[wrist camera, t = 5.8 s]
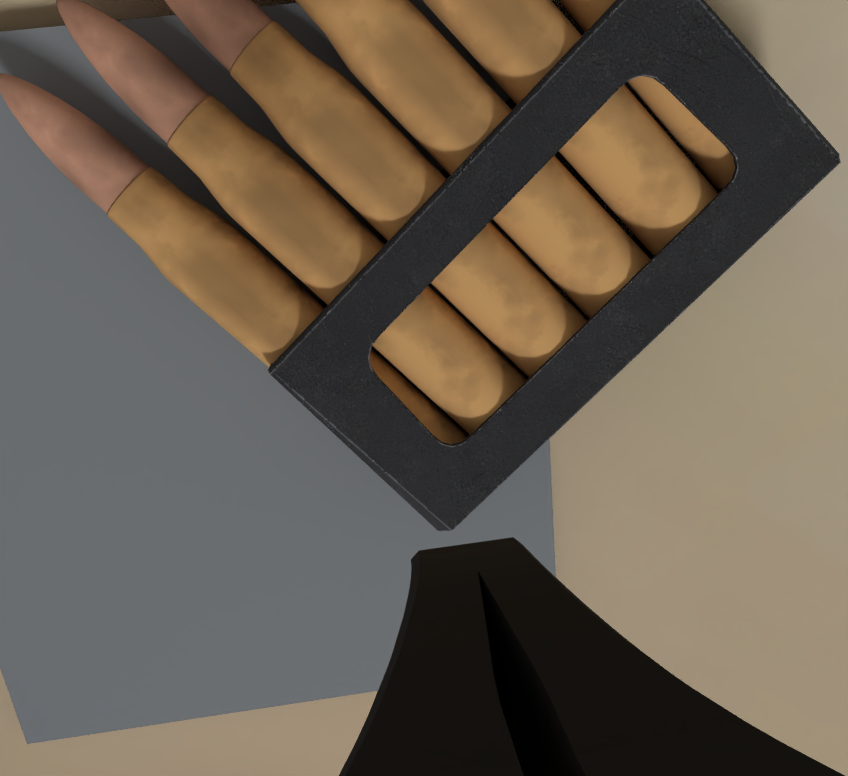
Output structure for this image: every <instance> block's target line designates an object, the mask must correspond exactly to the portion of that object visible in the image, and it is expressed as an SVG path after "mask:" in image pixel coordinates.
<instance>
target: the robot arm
mask: <svg viewBox="0 0 848 776" xmlns="http://www.w3.org/2000/svg"><path fill="white" fill-rule="evenodd" d="M339 776H844V775H842V774H841V773H839V772H837V771H835V770H833V769H831V768H829V767H827V766H825V765H823V764H822V763H820V762H818V761H816V760H814V759H812V758H810V757H808V756H806V755H805V754H803V753H801V752H799V751H797V750H795V749H793V748H791V747H789V746H787V745H786V744H784V743H782V742H780V741H778V740H776V739H775V738H773V737H771V736H769V735H768V734H766V733H764V732H762V731H761V730H759V729H757V728H755V727H754V726H752V725H750V724H749V723H747V722H745V721H744V720H742V719H740V718H739V717H737V716H736V715H734V714H732V713H731V712H729V711H728V710H726V709H724V708H723V707H721V706H720V705H718V704H717V703H715V702H713V701H712V700H710V699H709V698H707V697H705V696H704V695H702V694H701V693H699V692H697V691H696V690H694V689H693V688H691V687H690V686H688V685H687V684H685V683H684V682H683V681H681V680H680V679H678V678H677V677H675V676H674V675H672V674H671V673H670V672H668V671H667V670H666V669H664V668H663V667H662V666H660V665H659V664H658V663H656V662H655V661H654V660H652V659H651V658H650V657H648V656H647V655H646V654H644V653H643V652H642V651H640V650H639V649H638V648H637V647H635V646H634V645H633V644H632V643H630V642H629V641H628V640H627V639H625V638H624V637H623V636H622V635H620V634H619V633H618V632H617V631H616V630H614V629H613V628H612V627H611V626H610V625H609V624H607V623H606V622H605V621H604V620H603V619H601V618H600V617H599V616H598V615H597V614H596V613H594V612H593V611H592V610H591V609H590V608H589V607H587V606H586V605H585V604H584V603H583V602H582V601H581V600H580V599H578V598H577V597H576V596H575V595H574V594H573V593H572V592H571V591H570V590H569V589H567V588H566V587H565V586H564V585H563V584H562V583H561V582H560V581H559V580H558V579H557V578H556V577H555V576H554V575H553V574H552V573H551V572H550V571H549V570H548V569H547V568H545V567H544V566H543V565H542V564H541V563H540V562H539V561H538V560H537V559H536V558H535V557H534V556H533V555H532V554H531V553H530V552H529V551H528V550H527V548H526V547H525V546H524V545H523V544H521V543H520V542H519V541H518V540H516V539H515V538H514V537H511V538H504V539H497V540H490V541H482V542H475V543H468V544H461V545H454V546H447V547H440V548H433V549H426V550H419V551H418V552H417V553H416V554H415V555H414V556H413V558H412V559H411V581H410V588H409V593H408V598H407V602H406V607H405V611H404V616H403V619H402V622H401V626H400V629H399V632H398V636H397V639H396V642H395V646H394V649H393V652H392V655H391V658H390V661H389V664H388V667H387V669H386V672H385V674H384V677H383V680H382V682H381V685H380V687H379V690H378V692H377V695H376V697H375V700H374V702H373V705H372V707H371V710H370V712H369V715H368V717H367V719H366V721H365V724H364V726H363V728H362V730H361V732H360V735H359V737H358V739H357V741H356V743H355V745H354V747H353V749H352V751H351V753H350V755H349V757H348V759H347V761H346V763H345V765H344V767H343V769H342V771H341V773H340V775H339Z"/></svg>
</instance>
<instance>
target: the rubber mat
mask: <svg viewBox="0 0 848 776" xmlns="http://www.w3.org/2000/svg"><path fill="white" fill-rule="evenodd" d="M408 1H410V2H411V3H412V4H413V5H414V6H415V7H416V8H417V9H418V10H419V11H420V12H421V13H422V14H423V15H424V16H425V17H426V18H427V19H428V20H429V22H430V23H431V24H432V25H433V26H434V27H435V28H436V29H437V30H438V31H439V32H440V33H441V34H442V36H443V37H444V38H445V39H446V40H447V41H448V42H449V43H450V44H451V45H452V46H453V47H454V48H455V49H456V51H457V52H458V53H459V54H460V55H461V56H462V57H463V58H464V59H465V60H466V61H467V62H468V63H469V65H470V66H471V67H472V68H473V69H474V70H475V71H476V72H477V73H478V74H479V75H480V76H481V77H482V78H483V80H484V81H485V82H486V83H487V84H488V85H489V86H490V87H491V88H492V89H493V90H494V91H495V92H496V94H497V95H498V96H499V97H500V98H501V99H502V100H503V101H504V102H506V101H507V100H508V99H509V98H510V97H509V96H508V94H507V93H506V92H505V91H504V90H503V89H502V88H501V87H500V86H499V84H498V83H497V82H496V81H495V80H494V79H493V78H492V77H491V76H490V75H489V73H488V72H487V71H486V70H485V69H484V68H483V67H482V66H481V65H480V63H479V62H478V61H477V60H476V59H475V58H474V57H473V56H472V55H471V54H470V52H469V51H468V50H467V49H466V48H465V47H464V46H463V45H462V44H461V42H460V41H459V40H458V39H457V38H456V37H455V36H454V35H453V34H452V33H451V31H450V30H449V29H448V28H447V27H446V26H445V25H444V24H443V23H442V21H441V20H440V19H439V18H438V17H437V16H436V15H435V14H434V13H433V12H432V10H431V9H430V8H429V7H428V6H427V5H426V4H425V2H424V1H423V0H408ZM260 8H261V9H262V10H263V11H264V12H265V13H266V14H267V15H268V16H269V17H270V18H271V19H272V20H273V21H277V22H278V23H279V24H280V25H281V26H282V27H283V28H284V29H285V30H286V31H288V32H289V33H290V34H291V35H292V36H293V37H294V38H295V39H296V40H297V41H298V42H299V43H300V44H302V45H303V46H304V47H305V48H306V49H307V50H308V51H309V52H310V53H312V54H313V55H315V56H316V57H318V58H319V59H321V60H322V61H323V62H325V63H326V64H328V65H329V66H331V67H332V68H334V69H335V70H336V71H338V72H339V73H341V74H342V75H343V76H345V77H346V78H347V79H348V80H349V81H350V82H351V83H352V84H353V85H355V87H356V88H357V89H358V90H359V91H360V92H361V93H362V94H363V95H364V96H365V97H366V98H367V99H368V100H369V101H370V102H371V103H372V104H373V105H374V106H375V107H376V108H377V109H378V110H379V111H380V112H381V113H382V114H383V115H384V116H385V117H386V118H387V119H388V120H389V121H390V122H391V123H392V124H393V125H394V126H395V127H396V128H397V129H398V130H399V131H400V132H401V133H402V134H403V135H404V136H405V137H406V138H407V139H408V140H409V141H410V142H411V143H412V144H413V145H414V146H415V147H416V148H417V149H418V150H419V151H420V152H421V153H422V154H423V155H424V156H425V157H426V158H427V159H428V160H429V161H430V162H431V163H432V164H433V165H434V166H435V167H436V168H437V169H438V170H439V171H441V170H442V169H443V167H442V166H441V165H440V164H439V163H438V162H437V161H436V160H435V159H434V158H433V157H432V156H431V155H430V154H429V153H428V152H427V151H426V150H425V149H424V148H423V146H422V145H421V144H420V143H419V142H418V141H417V140H416V139H415V138H414V137H413V136H412V135H411V134H410V133H409V132H408V131H407V130H406V129H405V128H404V127H403V126H402V125H401V124H400V123H399V122H398V121H397V120H396V119H395V118H394V117H393V115H392V114H391V113H390V112H389V111H388V110H387V109H386V108H385V107H384V106H383V105H382V104H381V103H380V102H379V101H378V100H377V99H376V98H375V97H374V96H373V95H372V94H371V93H370V92H369V91H368V90H367V89H366V88H365V87H364V86H363V85H362V83H361V82H360V81H359V80H358V79H357V78H356V77H355V76H354V75H353V74H352V72H351V71H350V70H349V69H348V67H347V66H346V64H345V63H344V61H343V60H342V59H341V57H340V56H339V54H338V53H337V51H336V50H335V48H334V47H333V45H332V44H331V42H330V41H329V39H328V38H327V36H326V35H325V33H324V32H323V31H322V30H321V29H320V28H319V27H318V25H317V24H316V23H315V22H314V21H313V20H312V19H311V18H310V17H309V15H308V14H307V13H306V12H305V11H304V10H303V9H302V8H301V6H300V5H299V4H298V3H291V4H281V5H271V6H260ZM116 21H118V22H120V23H121V24H123V25H124V26H126V27H127V28H129V29H130V30H132V31H133V32H135V33H136V34H138V35H139V36H140V37H142V38H143V39H145V40H146V41H147V42H149V43H150V44H151V45H153V46H154V47H155V48H156V49H158V50H159V51H160V52H162V53H163V54H164V55H165V56H167V57H168V58H169V59H170V60H172V61H173V62H174V63H175V64H177V65H178V66H179V67H180V68H181V69H182V70H183V71H184V72H185V73H187V74H188V75H189V76H190V77H191V78H192V79H193V80H194V81H195V82H196V83H197V84H198V85H200V86H201V87H202V88H203V89H204V90H205V91H206V92H207V93H208V94H209V95H210V96H214V97H215V98H216V99H217V100H219V101H220V102H221V103H222V104H223V105H224V106H225V107H227V108H228V109H229V110H230V111H231V112H232V113H234V114H235V115H236V116H237V117H238V118H239V119H240V120H242V121H243V122H244V123H245V124H246V125H248V126H249V127H251V128H252V129H254V130H255V131H257V132H258V133H260V134H262V135H263V136H265V137H266V138H268V139H269V140H271V141H272V142H274V143H275V144H277V145H278V146H279V147H281V148H282V149H283V150H285V151H286V152H287V153H288V154H289V155H290V156H291V157H293V158H294V159H295V160H296V161H297V162H298V163H299V164H300V165H301V166H302V167H303V168H304V169H305V170H306V171H307V172H308V173H309V174H311V175H312V176H313V177H314V178H315V179H316V180H317V181H318V182H319V183H320V184H321V185H322V186H323V187H324V188H325V189H326V190H327V191H329V192H330V193H331V194H332V195H333V196H334V197H335V198H336V199H337V200H338V201H339V202H340V203H341V204H342V205H343V206H344V207H345V208H347V209H348V210H349V211H350V212H351V213H352V214H353V215H354V216H355V217H356V218H357V219H358V220H359V221H360V222H361V223H362V224H363V225H365V226H366V227H367V228H368V229H369V230H370V231H371V232H372V233H373V234H374V235H375V236H376V237H377V238H378V237H379V236H380V235H381V234H380V233H379V232H378V231H377V230H376V229H375V228H374V227H373V226H372V225H371V224H370V223H368V222H367V221H366V220H365V219H364V218H363V217H362V216H361V215H360V214H359V213H358V212H357V211H356V210H355V209H354V208H353V207H352V206H351V205H350V204H349V203H348V202H347V201H346V200H345V199H344V198H343V197H342V196H341V195H340V194H339V193H338V192H337V191H335V190H334V189H333V188H332V187H331V186H330V185H329V184H328V183H327V182H326V181H325V180H324V179H323V178H322V177H321V176H320V175H319V174H318V173H317V172H316V171H315V170H314V169H313V168H312V167H311V166H310V165H309V164H308V163H307V162H306V161H305V160H303V159H302V158H301V157H300V156H299V155H298V154H297V153H296V152H295V151H294V150H293V149H292V148H291V146H290V145H289V144H288V143H287V142H286V141H285V140H284V138H283V137H282V136H281V134H280V133H279V132H278V130H277V129H276V127H275V126H274V125H273V123H272V122H271V120H270V119H269V118H268V116H267V115H266V113H265V112H264V111H263V109H262V108H261V107H260V106H259V105H258V104H257V103H256V101H255V100H254V99H253V98H252V97H251V96H250V95H249V94H248V93H247V92H246V91H245V90H244V89H243V88H242V87H241V86H240V85H239V84H238V83H237V82H236V81H235V79H234V78H233V77H232V76H231V75H230V72H229V71H228V70H227V69H226V68H225V67H224V66H223V65H222V64H221V63H220V62H219V61H218V60H217V59H216V58H215V57H214V56H213V55H212V54H211V53H210V52H209V51H208V50H207V49H206V48H205V47H204V46H203V45H202V44H201V43H200V42H199V41H198V40H197V39H196V38H195V37H194V35H193V34H192V33H191V32H190V31H189V30H188V29H187V27H186V26H185V25H184V24H183V23H182V21H181V20H180V19H179V18H178V17H177V16H176V15H168V16H157V17H147V18H137V19H126V20H116ZM0 73H5V74H9V75H12V76H15V77H17V78H20V79H23V80H25V81H27V82H30V83H32V84H34V85H36V86H38V87H40V88H42V89H44V90H45V91H47V92H49V93H51V94H53V95H54V96H56V97H58V98H60V99H61V100H63V101H64V102H66V103H68V104H69V105H71V106H72V107H74V108H75V109H77V110H79V111H80V112H82V113H83V114H85V115H86V116H87V117H89V118H90V119H91V120H93V121H94V122H95V123H97V124H98V125H100V126H101V127H102V128H104V129H105V130H106V131H108V132H109V133H110V134H112V135H113V136H114V137H116V138H117V139H118V140H119V141H121V142H122V143H123V144H124V145H125V146H126V147H128V148H129V149H130V150H131V151H132V152H133V153H135V154H136V155H137V156H138V157H139V158H140V159H141V160H143V161H144V162H145V163H146V164H147V165H148V166H150V167H153V168H154V169H156V170H157V171H158V172H159V173H160V174H162V175H163V176H164V177H165V178H167V179H168V180H169V181H170V182H171V183H173V184H174V185H175V186H176V187H177V188H179V189H180V190H181V191H182V192H184V193H185V194H186V195H187V196H189V197H191V198H192V199H194V200H196V201H197V202H199V203H201V204H202V205H204V206H205V207H207V208H209V209H210V210H212V211H213V212H215V213H217V214H218V215H220V216H221V217H222V218H224V219H225V220H226V221H227V222H229V223H230V224H231V225H232V226H233V227H234V228H236V229H237V230H238V231H239V232H240V233H241V234H242V235H243V236H245V237H246V238H247V239H248V240H249V241H250V242H251V243H252V244H254V245H255V246H256V247H257V248H258V249H259V250H260V251H261V252H263V253H264V254H265V255H266V256H267V257H268V258H269V259H270V260H272V261H273V262H274V263H275V264H276V265H277V266H278V267H279V268H281V269H282V270H283V271H284V272H285V273H286V274H287V275H288V276H290V277H291V278H292V279H293V280H294V281H295V282H296V283H297V284H299V285H300V286H301V287H302V288H303V289H304V290H305V291H306V292H308V293H309V294H310V295H311V296H312V297H313V298H314V299H315V300H317V301H319V300H320V299H321V298H320V297H318V296H317V295H316V294H315V293H314V292H313V291H312V290H311V289H310V288H309V287H307V286H306V285H305V284H304V283H303V282H302V281H301V280H300V279H299V278H298V277H297V276H295V275H294V274H293V273H292V272H291V271H290V270H289V269H288V268H287V267H286V266H284V265H283V264H282V263H281V262H280V261H279V260H278V259H277V258H276V257H275V256H273V255H272V254H271V253H270V252H269V251H268V250H267V249H266V248H265V247H264V246H263V245H261V244H260V243H259V242H258V241H257V240H256V239H255V238H254V237H253V236H252V235H250V234H249V233H248V232H247V231H246V230H245V229H244V228H243V227H242V226H241V225H239V224H238V223H237V222H236V221H235V220H234V219H233V218H232V217H231V216H230V215H229V214H228V213H227V212H226V211H225V210H224V209H223V207H222V206H221V205H220V204H219V202H218V201H217V200H216V199H215V197H214V196H213V195H212V193H211V192H210V191H209V190H208V188H207V187H206V186H205V184H204V183H203V182H202V180H201V179H200V178H199V177H198V176H197V175H196V174H195V173H194V172H193V171H192V170H191V169H190V168H189V167H188V166H187V165H186V164H185V163H184V162H183V161H182V160H181V159H180V158H179V157H178V156H177V155H176V154H175V153H174V152H173V151H172V150H171V149H170V148H169V147H168V146H167V143H166V142H165V141H164V140H163V139H162V138H161V137H160V136H158V135H157V134H156V133H155V132H154V131H153V130H152V129H151V128H150V127H149V126H148V125H147V124H146V123H145V122H144V121H142V120H141V119H140V118H139V117H138V116H137V115H136V114H135V113H134V112H133V111H132V110H131V109H130V108H129V107H128V105H127V104H126V103H125V102H124V101H123V100H122V99H121V98H120V97H119V96H118V95H117V93H116V92H115V91H114V90H113V89H112V88H111V87H110V86H109V85H108V84H107V82H106V81H105V80H104V79H103V78H102V76H101V75H100V74H99V73H98V71H97V70H96V69H95V68H94V66H93V65H92V64H91V62H90V61H89V60H88V59H87V57H86V56H85V54H84V53H83V51H82V50H81V49H80V47H79V46H78V44H77V43H76V42H75V40H74V39H73V37H72V36H71V34H70V32H69V30H68V29H67V27H66V25H64V26H54V27H44V28H33V29H23V30H13V31H2V32H0ZM490 222H491V223H492V224H493V225H494V226H495V227H496V228H497V229H498V230H499V231H500V232H501V233H502V234H503V235H504V236H505V237H506V238H507V239H508V240H509V241H510V243H511V244H512V245H513V246H514V247H515V248H516V249H517V250H518V251H519V252H520V253H521V254H522V255H523V256H524V257H525V258H526V259H527V260H528V261H529V262H530V263H531V264H532V265H533V266H534V267H535V268H536V269H537V270H538V271H539V272H540V273H541V274H542V269H541V268H540V267H539V266H538V265H537V264H536V263H535V262H534V261H533V260H532V259H531V258H530V257H529V256H528V255H527V254H526V253H525V252H524V251H523V250H522V249H521V248H520V247H519V246H518V245H517V244H516V243H515V242H514V240H513V239H512V238H511V237H510V236H509V235H508V234H507V233H506V232H505V231H504V230H503V229H502V228H501V227H500V226H499V225H498V224H497V223H496V222H495V221H494V220H493V219H492V220H491V221H490ZM428 286H429V287H430V288H431V289H432V290H433V291H434V292H435V293H437V294H438V295H439V296H440V297H441V298H442V299H443V300H444V301H445V302H446V303H447V304H448V305H449V306H450V307H451V308H452V309H453V310H455V311H456V312H457V313H458V314H459V315H460V316H461V317H462V318H463V319H464V320H465V321H466V322H467V323H468V324H469V325H470V326H471V327H473V328H474V329H475V330H476V331H477V332H478V333H479V334H480V335H481V336H482V337H483V338H484V339H485V340H486V341H487V342H488V343H489V344H491V345H492V346H493V347H494V348H495V349H496V350H497V351H498V352H499V353H500V354H501V355H502V356H503V357H504V358H505V359H506V360H507V359H508V357H507V356H506V355H505V354H504V353H503V352H502V351H501V350H500V349H498V348H497V347H496V346H495V345H494V344H493V343H492V342H491V341H490V340H489V339H488V338H487V337H486V336H485V335H484V334H483V333H482V332H481V331H480V330H479V329H478V328H477V327H476V326H475V325H474V324H473V323H472V322H471V321H470V320H469V319H468V318H467V317H465V316H464V315H463V314H462V313H461V312H460V311H459V310H458V309H457V308H456V307H455V306H454V305H453V304H452V303H451V302H450V301H449V300H448V299H447V298H446V297H445V296H444V295H443V294H442V293H441V292H440V291H439V290H438V289H437V288H436V287H435V286H433V285H432V284H431V283H430V284H429V285H428ZM372 348H373V349H374V350H375V352H376V353H377V354H378V355H379V356H380V357H381V358H382V359H383V360H384V361H385V362H386V363H388V364H389V365H390V366H391V367H392V368H393V369H394V370H395V371H397V372H398V373H399V374H400V375H401V376H402V377H403V378H404V379H406V380H407V381H408V382H409V383H410V384H411V385H412V386H413V387H415V388H416V389H417V390H418V391H419V392H420V393H421V394H422V395H424V396H425V397H426V398H427V399H428V400H429V401H430V402H431V403H433V404H434V405H435V406H436V407H437V408H438V409H439V410H440V411H442V412H443V413H444V414H447V413H446V412H445V411H444V410H442V409H441V408H440V407H439V406H438V405H437V404H436V403H435V402H434V401H433V400H432V399H430V398H429V397H428V396H427V395H426V394H425V393H424V392H423V391H422V390H421V389H419V388H418V387H417V386H416V385H415V384H414V383H413V382H412V381H411V380H410V379H408V378H407V377H406V376H405V375H404V374H403V373H402V372H401V371H400V370H399V369H397V368H396V367H395V366H394V365H393V364H392V363H391V362H390V361H389V360H388V359H387V358H385V357H384V356H383V355H382V354H381V353H380V352H379V351H378V350H377V349H376V348H374V347H373V346H372ZM268 369H269V367H268V366H267V365H266V364H264V363H263V362H262V361H261V360H260V359H259V358H257V357H256V356H255V355H254V354H253V353H252V352H250V351H249V350H248V349H247V348H246V347H245V346H243V345H242V344H241V343H240V342H239V341H238V340H236V339H235V338H234V337H233V336H232V335H231V334H230V333H228V332H227V331H226V330H225V329H224V328H223V327H221V326H220V325H219V324H218V323H217V322H216V321H214V320H213V319H212V318H211V317H210V316H209V315H207V314H206V313H205V312H204V311H203V310H202V309H200V308H199V307H198V306H197V305H196V304H195V303H193V302H192V301H191V300H190V299H189V298H188V297H186V296H185V295H184V294H183V293H182V292H181V291H179V290H178V289H177V288H176V287H175V286H174V285H173V284H172V283H170V282H169V281H168V280H167V279H166V278H165V277H164V275H163V274H162V273H161V272H160V271H159V270H158V268H157V267H156V266H155V265H154V264H153V262H152V261H151V260H150V259H149V257H148V256H147V255H146V254H145V252H144V251H143V250H142V249H141V247H140V246H139V245H138V244H137V243H136V242H135V241H134V240H132V239H131V238H130V237H129V236H128V235H127V234H126V233H125V232H124V231H123V230H122V229H121V228H119V227H118V226H117V225H116V224H115V223H114V222H113V221H112V220H111V219H110V218H109V217H108V216H107V213H106V212H104V211H103V210H102V209H101V208H100V207H99V206H98V205H97V204H95V203H94V202H93V201H92V200H91V199H90V198H89V197H87V196H86V195H85V194H84V193H83V192H82V191H81V190H80V189H78V188H77V187H76V186H75V185H74V184H73V183H72V182H71V181H70V180H69V179H68V178H67V177H66V176H65V175H64V174H63V173H62V172H61V171H60V170H59V169H58V168H57V167H56V166H55V165H54V164H53V163H52V161H51V160H50V159H49V158H48V157H47V156H46V155H45V154H44V153H43V152H42V151H41V149H40V148H39V147H38V146H37V145H36V144H35V142H34V141H33V140H32V139H31V137H30V136H29V135H28V134H27V132H26V131H25V130H24V128H23V127H22V126H21V124H20V123H19V122H18V120H17V119H16V118H15V116H14V115H13V114H12V112H11V110H10V109H9V107H8V106H7V104H6V102H5V101H4V99H3V97H2V95H1V93H0V669H1V671H2V674H3V677H4V680H5V683H6V685H7V688H8V691H9V694H10V697H11V700H12V702H13V705H14V708H15V711H16V714H17V716H18V719H19V722H20V725H21V728H22V730H23V733H24V736H25V739H26V742H27V744H30V743H36V742H43V741H49V740H56V739H63V738H69V737H76V736H82V735H89V734H96V733H102V732H109V731H115V730H122V729H128V728H135V727H142V726H148V725H155V724H161V723H168V722H175V721H181V720H188V719H194V718H201V717H208V716H214V715H221V714H227V713H234V712H240V711H247V710H254V709H260V708H267V707H273V706H280V705H287V704H293V703H300V702H306V701H313V700H320V699H326V698H333V697H339V696H346V695H352V694H359V693H366V692H372V691H378V690H379V687H380V685H381V682H382V680H383V677H384V674H385V672H386V669H387V667H388V664H389V661H390V658H391V655H392V652H393V649H394V646H395V642H396V639H397V636H398V632H399V629H400V626H401V622H402V619H403V616H404V611H405V607H406V602H407V598H408V593H409V588H410V581H411V559H412V558H413V556H414V555H415V554H416V553H417V552H418V551H419V550H426V549H433V548H440V547H447V546H454V545H461V544H468V543H475V542H482V541H490V540H497V539H504V538H511V537H514V538H515V539H516V540H518V541H519V542H520V543H521V544H523V545H524V546H525V547H526V548H527V550H528V551H529V552H530V553H531V554H532V555H533V556H534V557H535V558H536V559H537V560H538V561H539V562H540V563H541V564H542V565H543V566H544V567H545V568H547V569H548V570H549V571H550V572H551V573H552V574H553V575H554V576H555V577H556V574H555V552H554V530H553V509H552V487H551V465H550V443H549V439H548V440H547V441H546V442H545V443H544V444H543V445H542V446H541V447H540V448H539V449H538V450H537V451H536V452H535V453H534V454H532V455H531V456H530V457H529V458H528V459H527V460H526V461H525V462H524V463H523V464H522V465H521V466H520V467H519V468H518V469H517V470H516V471H515V472H513V473H512V474H511V475H510V476H509V477H508V478H507V479H506V480H505V481H504V482H503V483H502V484H501V485H500V486H499V487H498V488H497V489H496V490H495V491H493V492H492V493H491V494H490V495H489V496H488V497H487V498H486V499H485V500H484V501H483V502H482V503H481V504H480V505H479V506H478V507H477V508H476V509H474V510H473V511H472V512H471V513H470V514H469V515H468V516H467V517H466V518H465V519H464V520H463V521H462V522H461V523H460V524H459V525H458V526H457V527H456V528H454V529H453V530H452V531H441V532H439V531H437V530H436V529H435V528H434V527H433V526H432V525H431V524H430V523H429V522H428V521H427V520H426V519H425V518H424V517H422V516H421V515H420V514H419V513H418V512H417V511H416V510H415V509H414V508H413V507H412V506H411V505H410V504H409V503H407V502H406V501H405V500H404V499H403V498H402V497H401V496H400V495H399V494H398V493H397V492H396V491H395V490H393V489H392V488H391V487H390V486H389V485H388V484H387V483H386V482H385V481H384V480H383V479H382V478H381V477H380V476H378V475H377V474H376V473H375V472H374V471H373V470H372V469H371V468H370V467H369V466H368V465H367V464H366V463H365V462H363V461H362V460H361V459H360V458H359V457H358V456H357V455H356V454H355V453H354V452H353V451H352V450H351V449H350V448H348V447H347V446H346V445H345V444H344V443H343V442H342V441H341V440H340V439H339V438H338V437H337V436H336V435H335V434H333V433H332V432H331V431H330V430H329V429H328V428H327V427H326V426H325V425H324V424H323V423H322V422H321V421H320V420H318V419H317V418H316V417H315V416H314V415H313V414H312V413H311V412H310V411H309V410H308V409H307V408H306V407H305V406H303V405H302V404H301V403H300V402H299V401H298V400H297V399H296V398H295V397H294V396H293V395H292V394H291V393H289V392H288V391H287V390H286V389H285V388H284V387H283V386H282V385H281V384H280V383H279V382H278V381H277V380H276V379H274V378H273V377H272V376H271V375H270V374H269V372H268Z"/></svg>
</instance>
